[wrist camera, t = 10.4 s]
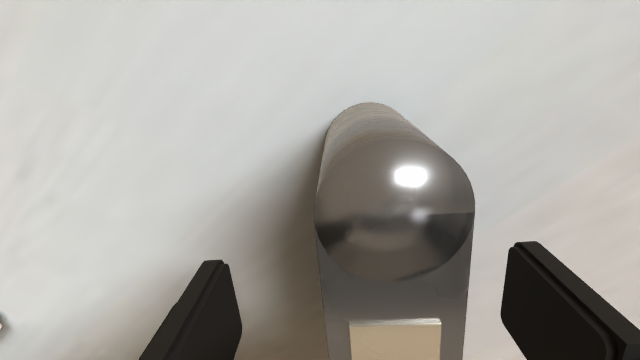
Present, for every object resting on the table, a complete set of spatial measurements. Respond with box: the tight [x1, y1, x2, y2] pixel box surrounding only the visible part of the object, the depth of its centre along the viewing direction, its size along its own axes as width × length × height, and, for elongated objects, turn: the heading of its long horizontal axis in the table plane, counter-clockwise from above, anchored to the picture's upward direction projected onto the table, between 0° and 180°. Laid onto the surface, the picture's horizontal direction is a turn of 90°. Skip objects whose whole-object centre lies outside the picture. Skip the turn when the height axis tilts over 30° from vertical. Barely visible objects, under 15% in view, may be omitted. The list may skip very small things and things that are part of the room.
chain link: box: [314, 103, 475, 360], centre depth 11 cm, size 3×11×6 cm, turn 5°
